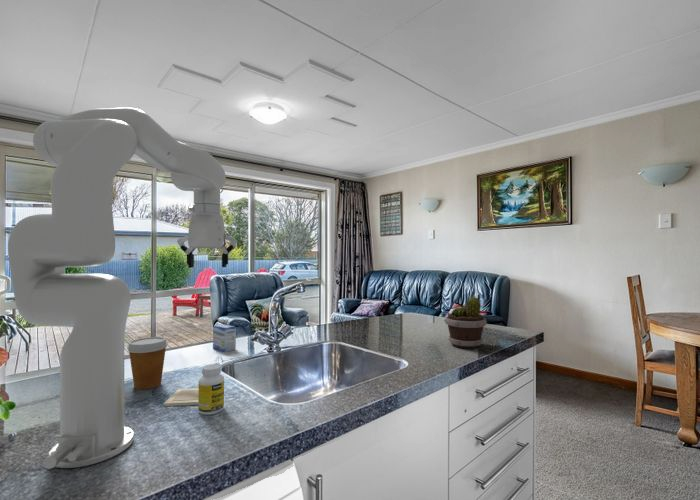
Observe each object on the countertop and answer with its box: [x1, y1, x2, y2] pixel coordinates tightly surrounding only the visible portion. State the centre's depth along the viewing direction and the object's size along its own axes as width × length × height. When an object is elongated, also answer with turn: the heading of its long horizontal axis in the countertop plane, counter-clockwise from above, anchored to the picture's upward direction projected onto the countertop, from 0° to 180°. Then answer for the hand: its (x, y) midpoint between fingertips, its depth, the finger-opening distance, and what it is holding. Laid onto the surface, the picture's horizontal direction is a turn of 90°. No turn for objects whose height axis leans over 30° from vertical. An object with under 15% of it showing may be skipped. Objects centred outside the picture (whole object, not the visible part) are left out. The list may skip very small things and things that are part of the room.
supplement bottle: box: [197, 363, 225, 416], centre depth 81 cm, size 5×5×10 cm
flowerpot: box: [443, 293, 488, 349], centre depth 136 cm, size 14×15×20 cm
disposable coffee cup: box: [126, 336, 168, 391], centre depth 97 cm, size 10×10×12 cm
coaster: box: [163, 387, 199, 407], centre depth 88 cm, size 9×9×1 cm
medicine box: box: [212, 323, 237, 353], centre depth 133 cm, size 8×4×9 cm, turn 55°
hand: (207, 267), depth 110 cm, fingers open, 9 cm apart
